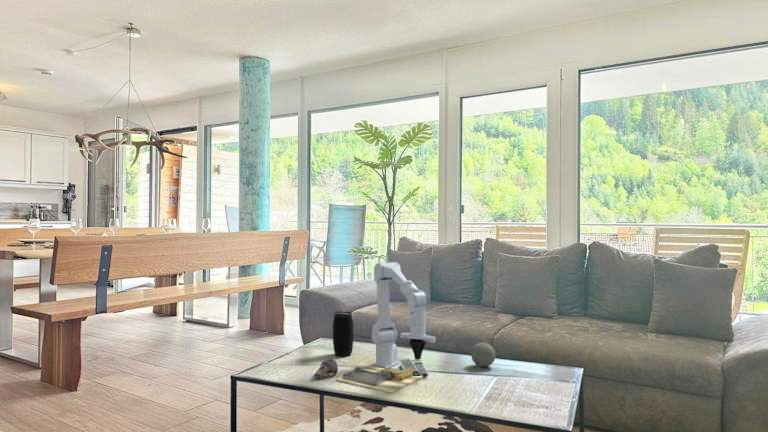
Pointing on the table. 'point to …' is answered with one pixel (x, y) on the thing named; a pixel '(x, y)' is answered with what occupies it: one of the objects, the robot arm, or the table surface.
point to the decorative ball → (483, 354)
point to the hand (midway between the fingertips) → (417, 359)
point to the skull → (327, 369)
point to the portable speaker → (343, 333)
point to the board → (386, 386)
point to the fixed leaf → (367, 376)
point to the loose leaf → (398, 373)
